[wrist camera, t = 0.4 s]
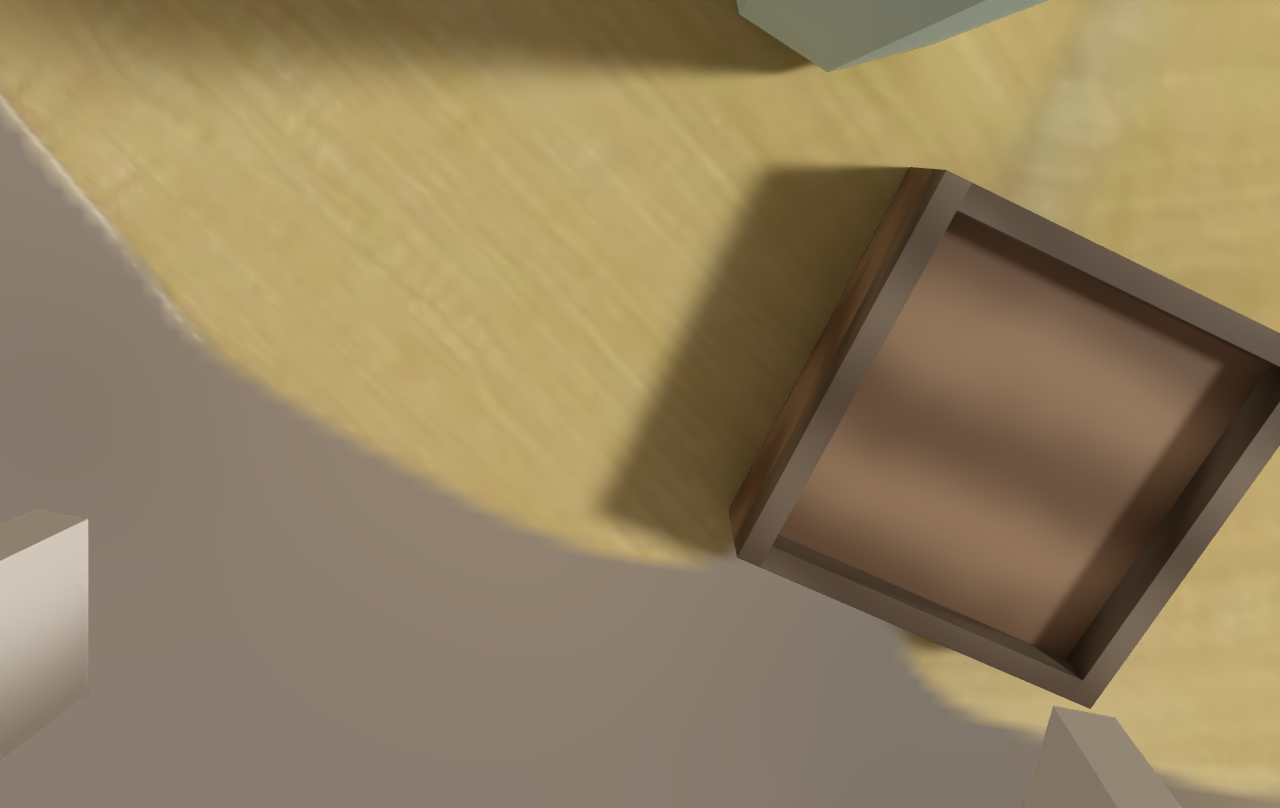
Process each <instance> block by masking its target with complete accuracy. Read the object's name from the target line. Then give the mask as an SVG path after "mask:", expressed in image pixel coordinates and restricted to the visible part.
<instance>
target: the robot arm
mask: <svg viewBox="0 0 1280 808" xmlns="http://www.w3.org/2000/svg"><path fill="white" fill-rule="evenodd" d="M88 692H89V691H88V519H86V518H81V517H76V516H71V515H66V514H61V513H55V512H50V511H45V510H40V509H35V510H33V511H31V512H28V513H26V514H23V515H21V516H19V517H16V518H14V519H12V520H9V521H7V522H5V523H3V524H0V760H1V759H3V758H4V757H5V756H7V755H8V754H9V753H11V752H12V751H13V750H15V749H16V748H17V747H19V746H20V745H21V744H22V743H24V742H25V741H27V740H28V739H29V738H31V737H32V736H33V735H35V734H36V733H37V732H39V731H40V730H41V729H43V728H44V727H45V726H47V725H48V724H49V723H51V722H52V721H53V720H55V719H56V718H57V717H59V716H60V715H61V714H63V713H64V712H65V711H67V710H68V709H69V708H71V707H72V706H73V705H75V704H76V703H77V702H79V701H80V700H81V699H83V698H84V697H85V696H87V695H88V694H89V693H88ZM1023 808H1181V807H1180V805H1179V804H1178V803H1177V801H1176V800H1175V799H1174V797H1173V796H1172V795H1171V793H1170V792H1169V790H1168V789H1167V788H1166V786H1165V785H1164V784H1163V782H1162V781H1161V780H1160V778H1159V777H1158V775H1157V774H1156V773H1155V771H1154V770H1153V769H1152V767H1151V766H1150V765H1149V763H1148V762H1147V760H1146V759H1145V758H1144V756H1143V755H1142V754H1141V752H1140V751H1139V750H1138V748H1137V747H1136V746H1135V744H1134V743H1133V741H1132V740H1131V739H1130V737H1129V736H1128V735H1127V733H1126V732H1125V731H1124V729H1123V728H1122V726H1121V725H1120V724H1119V722H1118V721H1117V720H1116V718H1114V717H1109V716H1103V715H1098V714H1093V713H1088V712H1083V711H1078V710H1072V709H1067V708H1062V707H1057V706H1053V709H1052V712H1051V716H1050V719H1049V722H1048V726H1047V729H1046V732H1045V736H1044V739H1043V742H1042V746H1041V749H1040V752H1039V756H1038V759H1037V762H1036V766H1035V769H1034V772H1033V776H1032V779H1031V782H1030V786H1029V789H1028V792H1027V796H1026V799H1025V802H1024V806H1023Z"/></svg>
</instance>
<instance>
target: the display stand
mask: <svg viewBox="0 0 1280 808" xmlns="http://www.w3.org/2000/svg"><path fill="white" fill-rule="evenodd" d="M1279 446H1280V333H1278V332H1276V331H1274V330H1272V329H1270V328H1268V327H1266V326H1264V325H1262V324H1260V323H1258V322H1256V321H1254V320H1252V319H1250V318H1248V317H1245V316H1243V315H1241V314H1239V313H1237V312H1235V311H1233V310H1231V309H1229V308H1227V307H1225V306H1223V305H1221V304H1219V303H1217V302H1215V301H1213V300H1211V299H1209V298H1207V297H1205V296H1203V295H1201V294H1198V293H1196V292H1194V291H1192V290H1190V289H1188V288H1186V287H1184V286H1182V285H1180V284H1178V283H1176V282H1174V281H1172V280H1170V279H1168V278H1166V277H1164V276H1162V275H1160V274H1158V273H1156V272H1154V271H1151V270H1149V269H1147V268H1145V267H1143V266H1141V265H1139V264H1137V263H1135V262H1133V261H1131V260H1129V259H1127V258H1125V257H1123V256H1121V255H1119V254H1117V253H1115V252H1113V251H1111V250H1109V249H1107V248H1104V247H1102V246H1100V245H1098V244H1096V243H1094V242H1092V241H1090V240H1088V239H1086V238H1084V237H1082V236H1080V235H1078V234H1076V233H1074V232H1072V231H1070V230H1068V229H1066V228H1064V227H1062V226H1060V225H1057V224H1055V223H1053V222H1051V221H1049V220H1047V219H1045V218H1043V217H1041V216H1039V215H1037V214H1035V213H1033V212H1031V211H1029V210H1027V209H1025V208H1023V207H1021V206H1019V205H1017V204H1015V203H1013V202H1010V201H1008V200H1006V199H1004V198H1002V197H1000V196H998V195H996V194H994V193H992V192H990V191H988V190H986V189H984V188H982V187H980V186H978V185H976V184H974V183H972V182H970V181H968V180H966V179H963V178H961V177H959V176H957V175H955V174H953V173H951V172H949V171H947V170H938V169H926V168H914V167H910V168H909V170H908V172H907V174H906V176H905V178H904V180H903V182H902V184H901V185H900V187H899V189H898V191H897V193H896V195H895V197H894V199H893V201H892V202H891V204H890V206H889V208H888V210H887V212H886V214H885V216H884V218H883V219H882V221H881V223H880V225H879V227H878V229H877V231H876V233H875V235H874V237H873V238H872V240H871V242H870V244H869V246H868V248H867V250H866V252H865V254H864V255H863V257H862V259H861V261H860V263H859V265H858V267H857V269H856V271H855V273H854V274H853V276H852V278H851V280H850V282H849V284H848V286H847V288H846V290H845V291H844V293H843V295H842V297H841V299H840V301H839V303H838V305H837V307H836V309H835V310H834V312H833V314H832V316H831V318H830V320H829V322H828V324H827V326H826V327H825V329H824V331H823V333H822V335H821V337H820V339H819V341H818V343H817V345H816V346H815V348H814V350H813V352H812V354H811V356H810V358H809V360H808V362H807V363H806V365H805V367H804V369H803V371H802V373H801V375H800V377H799V379H798V381H797V382H796V384H795V386H794V388H793V390H792V392H791V394H790V396H789V398H788V399H787V401H786V403H785V405H784V407H783V409H782V411H781V413H780V415H779V416H778V418H777V420H776V422H775V424H774V426H773V428H772V430H771V432H770V434H769V435H768V437H767V439H766V441H765V443H764V445H763V447H762V449H761V451H760V452H759V454H758V456H757V458H756V460H755V462H754V464H753V466H752V468H751V470H750V471H749V473H748V475H747V477H746V479H745V481H744V483H743V485H742V487H741V488H740V490H739V492H738V494H737V496H736V498H735V500H734V502H733V504H732V506H731V507H730V509H729V514H730V520H731V526H732V531H733V537H734V542H735V548H736V554H737V558H740V559H742V560H744V561H747V562H749V563H751V564H754V565H756V566H758V567H761V568H763V569H766V570H768V571H770V572H773V573H775V574H777V575H779V576H782V577H784V578H787V579H789V580H791V581H793V582H796V583H798V584H801V585H803V586H805V587H807V588H810V589H812V590H814V591H817V592H819V593H822V594H824V595H826V596H828V597H831V598H834V599H835V600H838V601H840V602H842V603H845V604H847V605H849V606H852V607H854V608H856V609H859V610H861V611H864V612H866V613H868V614H870V615H873V616H875V617H877V618H880V619H882V620H884V621H887V622H889V623H891V624H894V625H896V626H898V627H901V628H903V629H905V630H908V631H910V632H912V633H915V634H917V635H919V636H922V637H924V638H926V639H929V640H931V641H933V642H936V643H938V644H940V645H943V646H945V647H947V648H950V649H952V650H954V651H957V652H959V653H961V654H964V655H966V656H968V657H971V658H973V659H975V660H978V661H980V662H982V663H985V664H987V665H989V666H992V667H994V668H996V669H999V670H1001V671H1003V672H1006V673H1008V674H1010V675H1013V676H1015V677H1017V678H1020V679H1022V680H1024V681H1027V682H1029V683H1031V684H1034V685H1036V686H1038V687H1041V688H1043V689H1045V690H1048V691H1050V692H1052V693H1054V694H1057V695H1059V696H1061V697H1064V698H1066V699H1068V700H1071V701H1073V702H1075V703H1078V704H1080V705H1082V706H1085V707H1087V708H1089V709H1091V707H1092V706H1093V705H1094V703H1095V702H1096V700H1097V699H1098V698H1099V696H1100V695H1101V694H1102V692H1103V691H1104V689H1105V688H1106V687H1107V685H1108V684H1109V682H1110V681H1111V680H1112V678H1113V677H1114V675H1115V674H1116V673H1117V671H1118V670H1119V668H1120V667H1121V666H1122V664H1123V663H1124V661H1125V660H1126V659H1127V657H1128V656H1129V655H1130V653H1131V652H1132V650H1133V649H1134V648H1135V646H1136V645H1137V643H1138V642H1139V641H1140V639H1141V638H1142V636H1143V635H1144V634H1145V632H1146V631H1147V629H1148V628H1149V627H1150V625H1151V624H1152V622H1153V621H1154V620H1155V618H1156V617H1157V616H1158V614H1159V613H1160V611H1161V610H1162V609H1163V607H1164V606H1165V604H1166V603H1167V602H1168V600H1169V599H1170V597H1171V596H1172V595H1173V593H1174V592H1175V590H1176V589H1177V588H1178V586H1179V585H1180V583H1181V582H1182V581H1183V579H1184V578H1185V577H1186V575H1187V574H1188V572H1189V571H1190V570H1191V568H1192V567H1193V565H1194V564H1195V563H1196V561H1197V560H1198V558H1199V557H1200V556H1201V554H1202V553H1203V551H1204V550H1205V549H1206V547H1207V546H1208V544H1209V543H1210V542H1211V540H1212V539H1213V537H1214V536H1215V535H1216V533H1217V532H1218V531H1219V529H1220V528H1221V526H1222V525H1223V524H1224V522H1225V521H1226V519H1227V518H1228V517H1229V515H1230V514H1231V512H1232V511H1233V510H1234V508H1235V507H1236V505H1237V504H1238V503H1239V501H1240V500H1241V498H1242V497H1243V496H1244V494H1245V493H1246V492H1247V490H1248V489H1249V487H1250V486H1251V485H1252V483H1253V482H1254V480H1255V479H1256V478H1257V476H1258V475H1259V473H1260V472H1261V471H1262V469H1263V468H1264V466H1265V465H1266V464H1267V462H1268V461H1269V459H1270V458H1271V457H1272V455H1273V454H1274V453H1275V451H1276V450H1277V448H1278V447H1279Z"/></svg>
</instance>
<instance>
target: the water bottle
mask: <svg viewBox="0 0 1280 808" xmlns="http://www.w3.org/2000/svg"><path fill="white" fill-rule="evenodd" d="M1045 1H1048V0H736V2H737V7H738V12H739V14H740V15H741V16H743V17H744V18H746V19H747V20H749V21H750V22H752V23H753V24H755V25H756V26H758V27H759V28H761V29H762V30H764V31H765V32H767V33H768V34H770V35H771V36H773V37H775V38H776V39H778V40H779V41H781V42H782V43H784V44H785V45H787V46H788V47H790V48H791V49H793V50H794V51H796V52H797V53H799V54H800V55H802V56H803V57H805V58H806V59H808V60H810V61H811V62H813V63H814V64H816V65H817V66H819V67H820V68H822V69H823V70H825V71H826V72H830V71H834V70H838V69H841V68H845V67H849V66H853V65H856V64H860V63H864V62H868V61H872V60H875V59H879V58H883V57H887V56H890V55H894V54H898V53H902V52H905V51H909V50H913V49H917V48H920V47H924V46H928V45H932V44H935V43H937V42H940V41H942V40H945V39H948V38H950V37H953V36H956V35H958V34H961V33H963V32H966V31H969V30H971V29H974V28H977V27H979V26H982V25H984V24H987V23H990V22H992V21H995V20H998V19H1000V18H1003V17H1006V16H1008V15H1011V14H1013V13H1016V12H1019V11H1021V10H1024V9H1027V8H1029V7H1032V6H1034V5H1037V4H1040V3H1042V2H1045Z"/></svg>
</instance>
